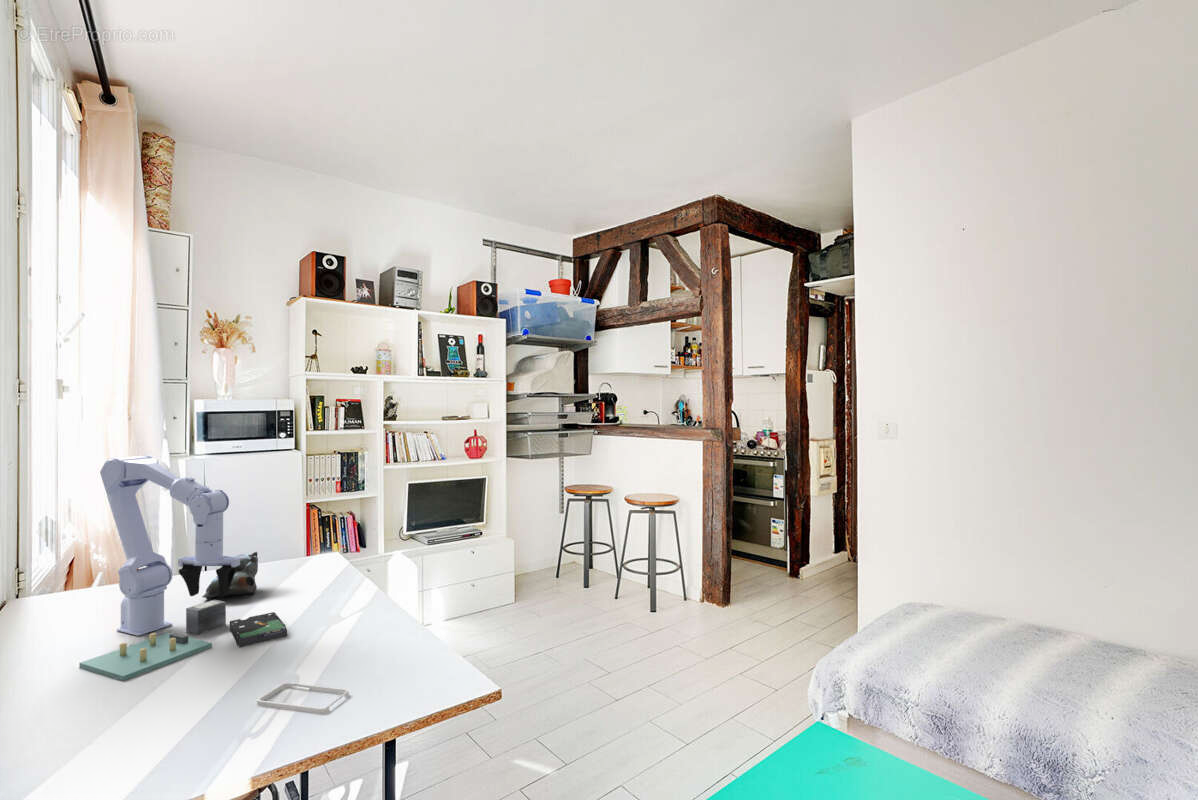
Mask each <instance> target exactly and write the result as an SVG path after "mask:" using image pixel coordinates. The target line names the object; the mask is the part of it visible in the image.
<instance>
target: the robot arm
mask: <svg viewBox="0 0 1198 800" xmlns="http://www.w3.org/2000/svg"><path fill="white" fill-rule="evenodd" d="M99 473H100V477H101V481H102V484H103V487H104V490H105V493H106V497H107V500H108V503H109V507H110V510H111V513H112V516H113V520H114V523H115V526H116V530H117V533H118V536H119V538H120V539H119V540H120V543H121V546H122V548H123V551H124V554H125V558H126V561H125V562H124V563H123V564H122V566H121V567H120V568H119V569H118V571H117V573H118V577H119V583H118V586H119V590H120V592H121V593H122V594H123V595H124V597H123V599H122V600H121V603H120V626H119V627H117V628H116V631H117V632H121V633H125V634H128V635H129V634H130V635H133V636H136V637H137V636H138V637H139V636H142V635H146V634H148V633H153V632H155V631H157V630H161V629H164V628H168V627H169V626H172V625H173V622H171V621H166V620H165V591H166V590H167V589H168V585H170V584H171V581H172V579H173V571H172V570H173V569H172V568H171V566H170V565H169V563H168V562H167V561H166V558H165V556H164V555H162V554H160V553H156V552H155V551H154V550H153V547H152V543H151V541H150V537H149V533H148V531H147V528H146V524H145V521H144V518H143V515H142V511H141V508H140V505H139V503H138V499H137V496H136V494H137V493H138V492H139V490H140V489H142V488H143V487H144V486H145V485H146V484H147V483H148V482H151V483H153V484H155V485H158V486H159V487H162V488H163V489H166V490H168V491H169V495H170V497H171V498H173V499H175V500H176V501H178V502H179V503H181V504H183V505H185V506H187V507H188V508H189V512H190V514H191V515H192V518H193V523H194V524H195V540H194V542H195V543H194V544H195V545H194V546H195V547H194V548H195V555H194V556H182V557H179V558H177V567H179V568H180V567H181V568H180V569H178V574H179V575H180V576H181V578H182V580H183V581H184V583H185V585H186V587H187V591H188V594H189V596H190V597H194V596H197V595H198V594H199V591H200V577H201V572H202V569H203V567H218V568H216V569H215V573H216V575H217V576H218V580H219V595H220V596H219V597H221V598H223V597H225V596H228V595H227V594H228V592H229V588H230V585H231V582H232V579H233V577H234V575H235V573H236V571H237V570H238V568H239V565H240V557H234V556H229V555H224V512H225V511H227V510H228V508H229V505H230V499H229V497H228V494H227V493H226V492H224V491H223V490H222V489H216V490H213V489H211V488H210V487H209V486H204V485H203V484H202V483H199V482H197V481H196V478H194V477H192V476H190V477H181V478H180V477H179V476H177V475H176V474H174V473H173V472H172V471H170V470H168V469H166V468H165V467H163V465H161V464H160V463H159V460H158V459H157V458H154V457H152V456H151V455H149V454H143V455H138V456H137V455H136V456H127V457H126V456H125V457H124V456H123V457H111V458H108V459H107V460H106V461H105V462H104V463H103V466H102V467H101V469H100V471H99ZM220 567H222V568H220ZM217 576H216V577H217Z"/></svg>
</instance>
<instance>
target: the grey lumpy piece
mask: <svg viewBox="0 0 1198 800" xmlns="http://www.w3.org/2000/svg"><path fill="white" fill-rule="evenodd" d="M233 557H240V565H239V568H238V570H237V571H236V573H235V575H234V577H233V579H232V582H231V585H230V588H229V592H228V594H227V595H226V596H231V595H232V596H233V595H255V593H256V591H257V584H256V578H255V577H256V575H257V574H258V570H259V563H258V562H259V559H258V551H255V552H253V553H251V554H248V553H245V554H244V553H243V554H242V553H241V554H238V555H235V556H233ZM219 568H222V566H219ZM201 597H202V598H204V599H206V600H209V599H211V598H215V597H220V595H219V580H218V576H216V577H215V578H213V579H212V580H211V581H210V584H209V585H208V586H207V588H206V589H205V592H204V594H203V595H202V596H201Z"/></svg>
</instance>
